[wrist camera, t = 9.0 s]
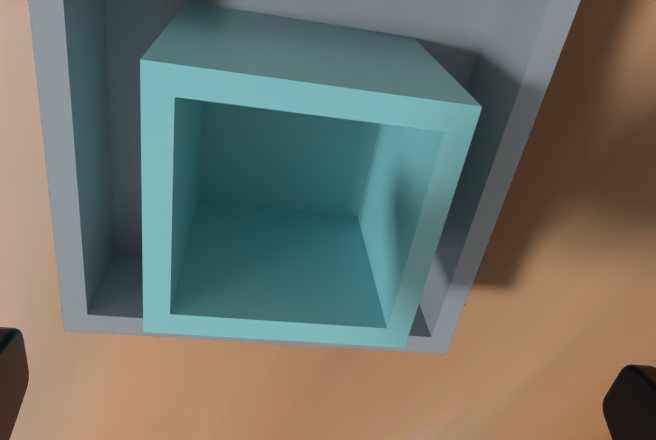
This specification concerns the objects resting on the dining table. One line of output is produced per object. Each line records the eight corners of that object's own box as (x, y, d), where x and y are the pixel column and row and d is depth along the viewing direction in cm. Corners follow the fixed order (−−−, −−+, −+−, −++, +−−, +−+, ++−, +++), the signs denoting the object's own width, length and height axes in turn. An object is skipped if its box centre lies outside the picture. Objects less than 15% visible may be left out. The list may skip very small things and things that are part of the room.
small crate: (413, 37, 15) (482, 106, 10) (368, 224, 19) (404, 347, 14) (187, 1, 14) (140, 59, 9) (180, 205, 18) (143, 331, 13)
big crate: (523, -54, 15) (595, -40, 12) (418, 280, 21) (445, 354, 18) (78, -141, 13) (11, -153, 10) (100, 254, 19) (64, 330, 16)
